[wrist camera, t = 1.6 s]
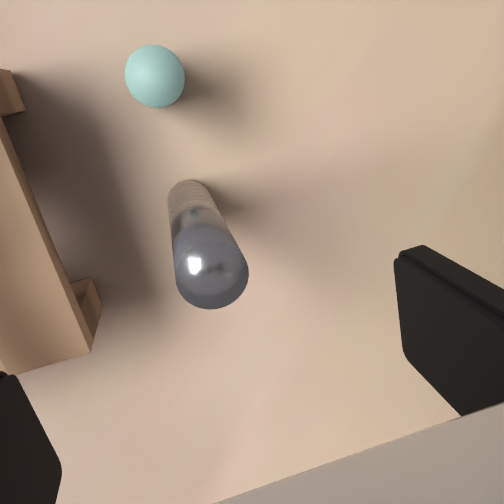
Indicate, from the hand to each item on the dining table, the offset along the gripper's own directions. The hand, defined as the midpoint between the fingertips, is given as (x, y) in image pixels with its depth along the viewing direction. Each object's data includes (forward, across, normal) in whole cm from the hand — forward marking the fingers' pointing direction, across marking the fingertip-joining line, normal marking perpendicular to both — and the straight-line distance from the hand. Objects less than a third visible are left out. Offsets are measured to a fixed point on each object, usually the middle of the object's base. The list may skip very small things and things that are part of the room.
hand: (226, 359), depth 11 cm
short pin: (+18, 0, -7) cm, 19 cm away
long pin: (+17, 0, 0) cm, 17 cm away
